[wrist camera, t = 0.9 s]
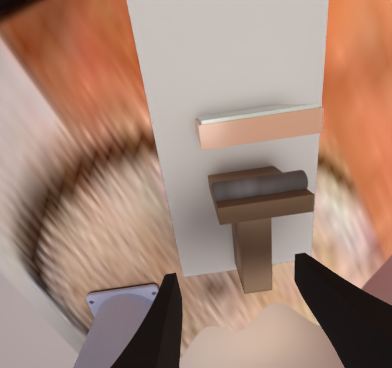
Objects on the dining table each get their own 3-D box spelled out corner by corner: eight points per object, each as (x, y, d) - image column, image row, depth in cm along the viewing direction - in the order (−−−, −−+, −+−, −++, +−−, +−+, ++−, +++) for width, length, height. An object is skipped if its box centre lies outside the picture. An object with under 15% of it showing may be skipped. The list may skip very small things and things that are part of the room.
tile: (279, 123, 18) (322, 132, 12) (196, 136, 18) (201, 150, 12) (279, 103, 17) (324, 103, 12) (194, 116, 17) (198, 121, 12)
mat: (308, 256, 23) (310, 259, 23) (183, 274, 23) (183, 277, 23) (327, -37, 15) (331, -41, 14) (126, -6, 15) (124, -9, 14)
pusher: (274, 256, 23) (306, 312, 17) (218, 264, 23) (230, 323, 17) (273, 153, 19) (315, 177, 13) (206, 163, 19) (215, 192, 13)
